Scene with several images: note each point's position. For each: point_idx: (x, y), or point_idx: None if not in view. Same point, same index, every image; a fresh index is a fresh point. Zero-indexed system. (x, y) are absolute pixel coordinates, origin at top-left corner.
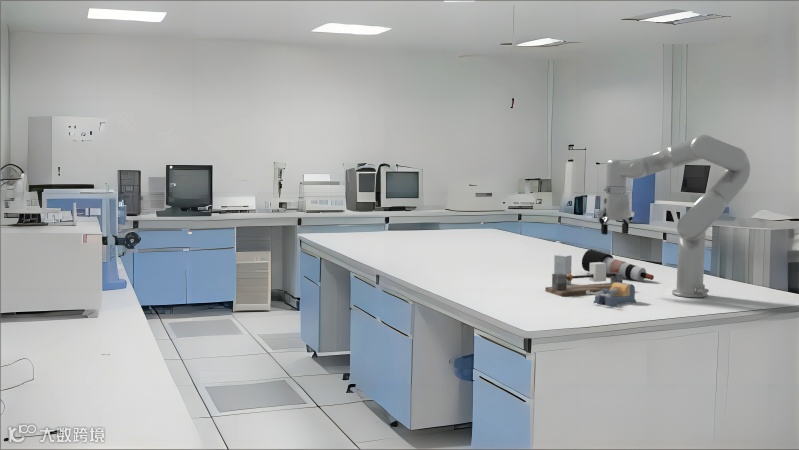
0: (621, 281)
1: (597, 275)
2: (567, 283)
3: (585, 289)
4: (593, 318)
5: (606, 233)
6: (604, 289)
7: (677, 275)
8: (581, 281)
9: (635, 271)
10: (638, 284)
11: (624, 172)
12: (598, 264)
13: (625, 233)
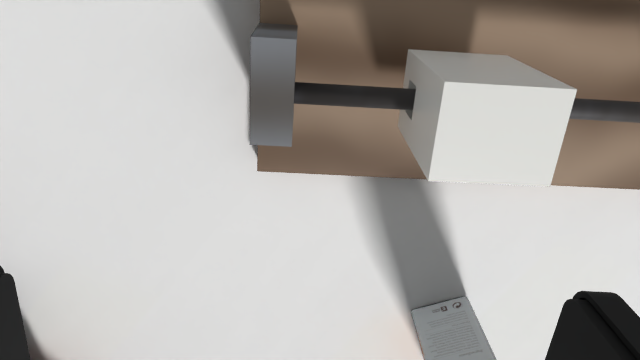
0: (266, 28)
1: (504, 64)
2: (447, 304)
3: (590, 27)
4: None
5: (618, 300)
6: None
7: None
8: (300, 350)
9: None
10: (17, 158)
11: None
12: (539, 86)
13: (10, 307)
